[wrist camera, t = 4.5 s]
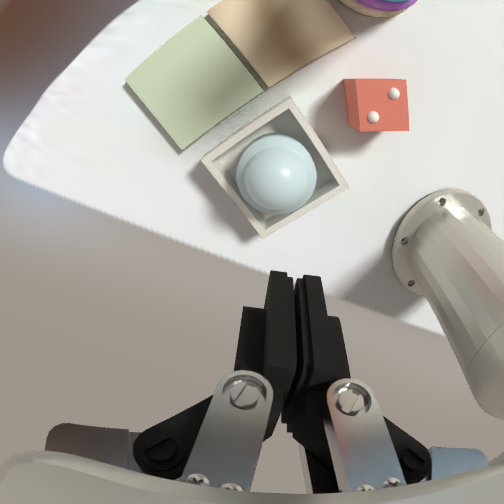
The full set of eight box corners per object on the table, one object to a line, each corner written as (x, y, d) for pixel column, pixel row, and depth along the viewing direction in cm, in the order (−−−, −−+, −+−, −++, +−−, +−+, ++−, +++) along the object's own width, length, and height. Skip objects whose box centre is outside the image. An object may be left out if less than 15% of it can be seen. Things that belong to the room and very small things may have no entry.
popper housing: (289, 96, 23) (291, 97, 21) (342, 177, 27) (349, 187, 24) (206, 152, 26) (200, 160, 24) (263, 225, 30) (262, 238, 27)
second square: (203, 17, 20) (201, 15, 19) (264, 90, 23) (263, 91, 23) (128, 79, 23) (124, 79, 22) (184, 148, 26) (182, 150, 25)
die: (387, 78, 22) (408, 79, 18) (391, 123, 24) (411, 131, 20) (343, 79, 22) (356, 78, 18) (348, 124, 24) (361, 132, 20)
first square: (292, -36, 17) (293, -39, 16) (353, 38, 20) (355, 37, 19) (208, 13, 20) (206, 11, 19) (269, 87, 23) (268, 87, 22)
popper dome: (285, 118, 23) (289, 127, 19) (325, 177, 25) (336, 200, 21) (225, 159, 25) (214, 177, 21) (266, 213, 28) (265, 242, 23)
